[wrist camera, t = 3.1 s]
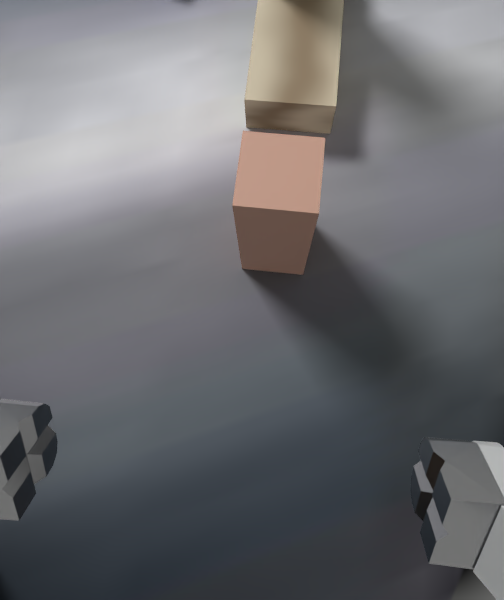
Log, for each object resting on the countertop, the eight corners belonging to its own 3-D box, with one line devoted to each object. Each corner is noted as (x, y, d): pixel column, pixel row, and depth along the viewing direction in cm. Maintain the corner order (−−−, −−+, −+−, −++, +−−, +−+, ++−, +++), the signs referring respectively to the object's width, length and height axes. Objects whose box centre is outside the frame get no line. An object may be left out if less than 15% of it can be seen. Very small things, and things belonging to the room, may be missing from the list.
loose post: (242, 268, 29) (232, 205, 21) (249, 213, 30) (242, 130, 22) (303, 275, 29) (318, 213, 21) (308, 218, 30) (325, 137, 22)
